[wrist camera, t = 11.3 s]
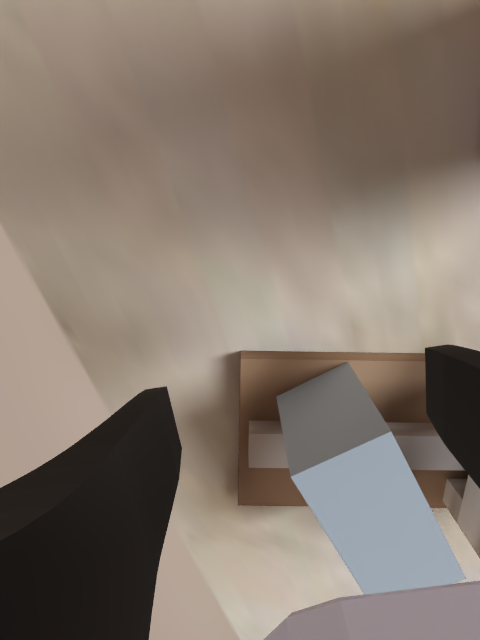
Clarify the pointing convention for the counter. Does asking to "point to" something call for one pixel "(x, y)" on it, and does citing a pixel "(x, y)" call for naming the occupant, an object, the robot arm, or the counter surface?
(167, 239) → the counter surface
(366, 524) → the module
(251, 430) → the board
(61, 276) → the counter surface
